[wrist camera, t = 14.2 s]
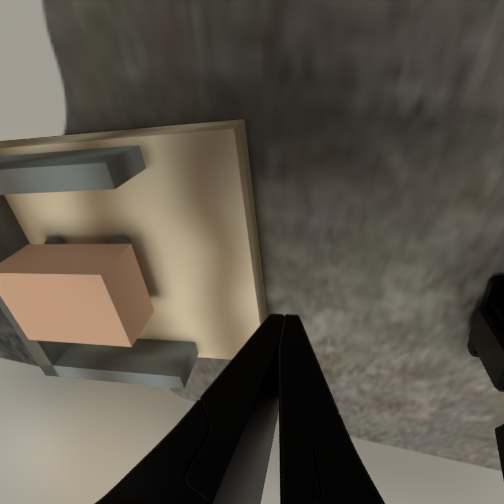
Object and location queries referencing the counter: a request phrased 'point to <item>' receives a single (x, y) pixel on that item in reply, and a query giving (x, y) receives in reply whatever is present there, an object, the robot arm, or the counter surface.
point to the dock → (146, 238)
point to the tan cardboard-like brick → (77, 292)
